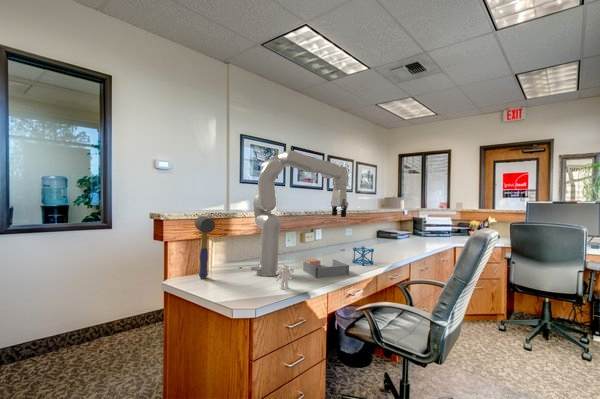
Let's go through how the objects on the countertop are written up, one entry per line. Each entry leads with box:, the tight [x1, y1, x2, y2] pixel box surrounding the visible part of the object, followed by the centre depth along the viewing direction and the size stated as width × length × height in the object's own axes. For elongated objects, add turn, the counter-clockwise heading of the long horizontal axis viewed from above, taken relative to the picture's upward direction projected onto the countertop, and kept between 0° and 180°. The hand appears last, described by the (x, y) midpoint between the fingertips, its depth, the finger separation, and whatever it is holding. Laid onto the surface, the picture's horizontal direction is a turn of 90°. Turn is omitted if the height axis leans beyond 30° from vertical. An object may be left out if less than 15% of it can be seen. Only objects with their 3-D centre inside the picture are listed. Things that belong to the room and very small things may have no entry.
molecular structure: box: [351, 246, 375, 267], centre depth 193 cm, size 10×10×10 cm
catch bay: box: [302, 258, 350, 279], centre depth 167 cm, size 20×15×5 cm
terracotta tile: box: [303, 257, 321, 268], centre depth 181 cm, size 7×7×4 cm
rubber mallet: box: [194, 216, 216, 279], centre depth 149 cm, size 12×8×30 cm, turn 33°
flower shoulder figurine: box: [275, 262, 295, 291], centre depth 138 cm, size 9×4×12 cm, turn 128°
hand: (338, 216), depth 182 cm, fingers open, 9 cm apart
